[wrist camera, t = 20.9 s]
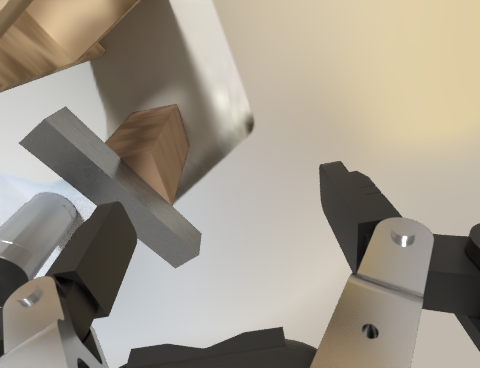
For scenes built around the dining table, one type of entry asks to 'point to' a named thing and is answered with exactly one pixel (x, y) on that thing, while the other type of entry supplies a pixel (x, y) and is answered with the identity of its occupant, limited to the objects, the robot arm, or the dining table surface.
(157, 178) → the pedestal
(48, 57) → the shelf stand
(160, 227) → the bar
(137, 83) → the dining table surface
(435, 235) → the robot arm
